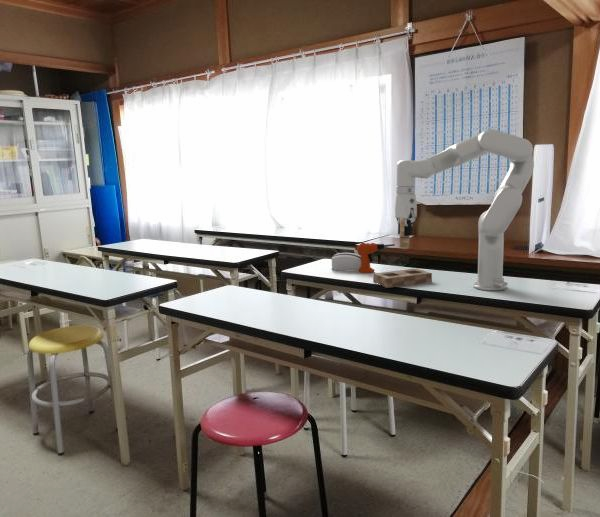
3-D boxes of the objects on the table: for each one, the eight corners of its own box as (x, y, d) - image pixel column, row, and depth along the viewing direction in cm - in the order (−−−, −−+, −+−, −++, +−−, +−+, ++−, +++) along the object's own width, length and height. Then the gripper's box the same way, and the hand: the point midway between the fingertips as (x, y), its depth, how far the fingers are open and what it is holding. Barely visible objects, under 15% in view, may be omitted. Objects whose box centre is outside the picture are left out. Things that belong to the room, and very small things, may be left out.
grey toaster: (366, 269, 259) (364, 251, 254) (363, 274, 255) (361, 256, 250) (334, 267, 266) (332, 250, 261) (331, 272, 262) (328, 255, 257)
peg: (411, 247, 217) (412, 213, 215) (402, 248, 216) (403, 214, 213) (405, 245, 221) (406, 213, 219) (397, 246, 220) (398, 213, 217)
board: (431, 282, 226) (431, 273, 225) (386, 287, 219) (386, 278, 218) (416, 277, 237) (416, 268, 236) (373, 282, 230) (373, 273, 229)
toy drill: (397, 270, 245) (393, 239, 243) (358, 275, 250) (353, 244, 248) (398, 268, 250) (394, 238, 248) (359, 272, 255) (355, 242, 253)
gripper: (425, 191, 208) (423, 236, 211) (402, 189, 223) (401, 232, 227) (408, 192, 205) (407, 238, 209) (387, 190, 221) (386, 233, 224)
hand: (404, 234), depth 218 cm, fingers closed on peg, 4 cm apart
